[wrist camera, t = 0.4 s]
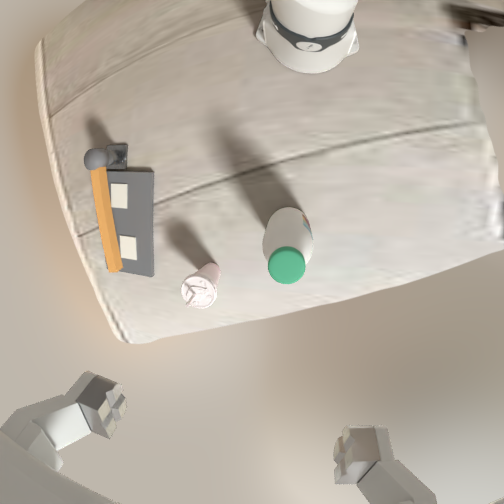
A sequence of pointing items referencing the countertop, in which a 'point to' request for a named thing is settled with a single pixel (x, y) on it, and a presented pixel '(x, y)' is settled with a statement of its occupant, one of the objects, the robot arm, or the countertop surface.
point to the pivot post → (117, 156)
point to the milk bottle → (287, 245)
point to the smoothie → (201, 286)
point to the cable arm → (104, 206)
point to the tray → (133, 219)
